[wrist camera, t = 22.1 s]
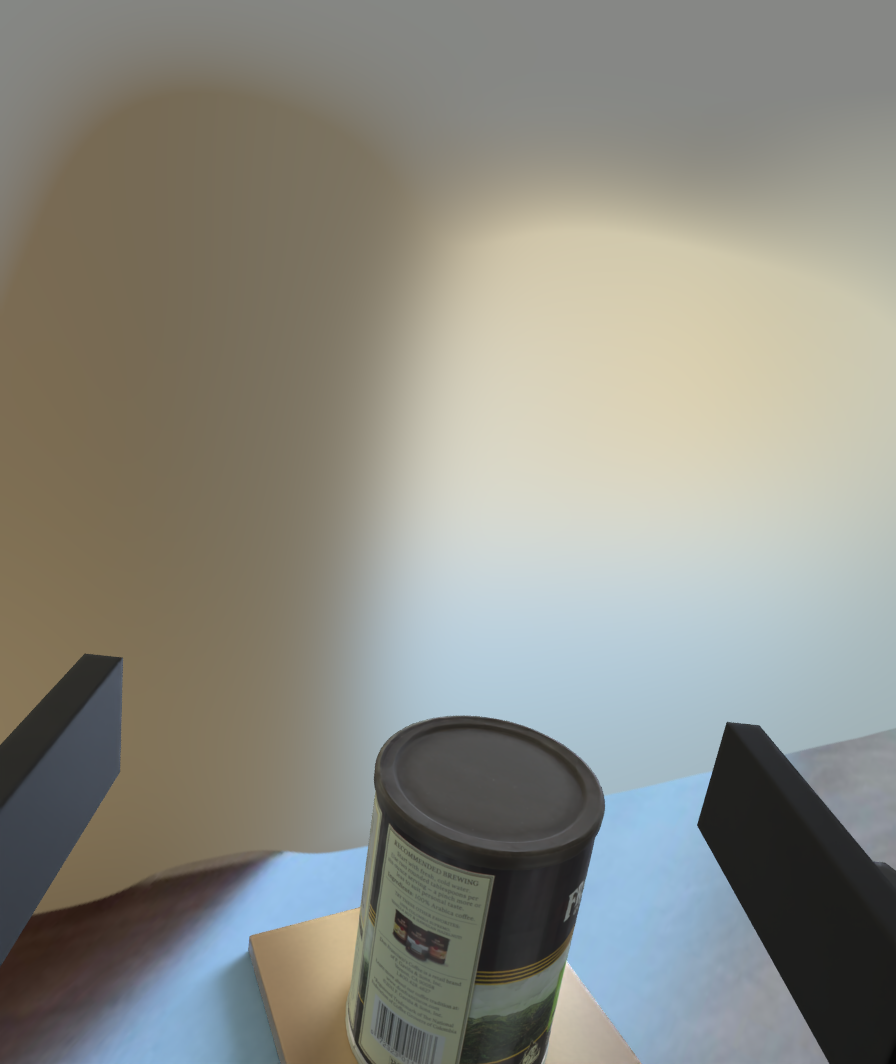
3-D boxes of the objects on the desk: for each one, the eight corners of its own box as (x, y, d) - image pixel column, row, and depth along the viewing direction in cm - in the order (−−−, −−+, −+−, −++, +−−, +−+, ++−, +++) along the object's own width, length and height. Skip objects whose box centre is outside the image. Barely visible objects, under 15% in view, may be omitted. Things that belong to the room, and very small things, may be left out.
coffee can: (541, 948, 42) (590, 730, 38) (556, 1142, 32) (624, 874, 28) (362, 919, 42) (391, 699, 38) (322, 1103, 32) (356, 831, 28)
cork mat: (345, 1294, 27) (347, 1275, 27) (247, 950, 41) (249, 935, 40) (672, 1126, 35) (676, 1110, 34) (498, 882, 48) (500, 870, 48)
